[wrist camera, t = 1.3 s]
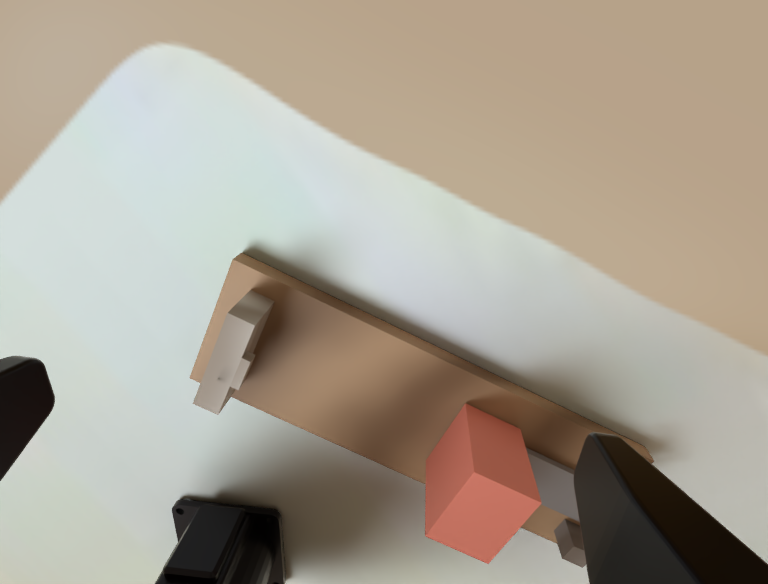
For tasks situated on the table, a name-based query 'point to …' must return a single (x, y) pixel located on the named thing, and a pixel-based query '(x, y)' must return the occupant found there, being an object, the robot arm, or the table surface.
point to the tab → (489, 485)
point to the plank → (368, 383)
